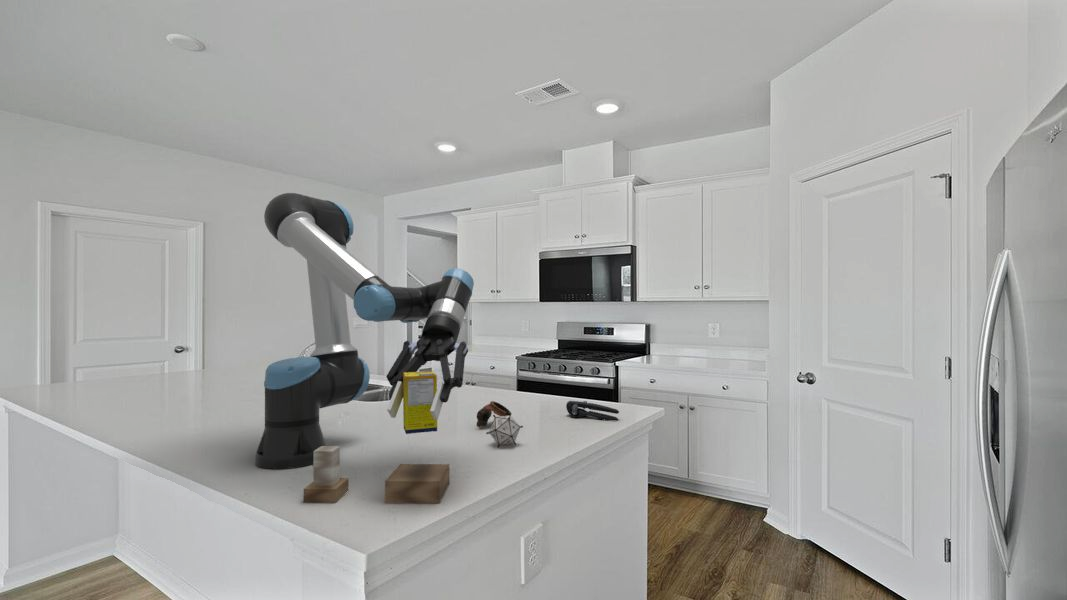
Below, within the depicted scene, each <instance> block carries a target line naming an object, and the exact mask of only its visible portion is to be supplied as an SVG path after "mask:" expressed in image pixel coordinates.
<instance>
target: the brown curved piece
mask: <svg viewBox="0 0 1067 600" xmlns="http://www.w3.org/2000/svg"><path fill="white" fill-rule="evenodd" d="M492 413H493V414H494V415H497V417H499V416H508V415H509V414H510V413H511V414H512V412H511V411H510V410H509V409H508V408H507V407H506V406H504V405H502V404H501V403H500V402H497V401H494V400H492V401H490V402H489V404H486V405H484V406H483V407H482V408H481V409H478V412H477V413H476V419H477V421H476V426H477V428H480V427H481V426H483V427H486V426H487V424H488V421H489V419H490V418H491V417H492V415H493V414H492Z"/></svg>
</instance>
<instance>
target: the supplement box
mask: <svg viewBox="0 0 1067 600" xmlns="http://www.w3.org/2000/svg"><path fill="white" fill-rule="evenodd" d="M437 377H438V376H437V373H435V371H433V370H425V371H417V372H403V399H402V402H403V403H402V404H403V405H402V407H403V414H402V415H403V416H402V417H403V430H404V432H405V435H409V434H417V433H418V434H419V433H432V432H438V419H434V418H433V416H432V414H431V412H430V409H431V406H432V403H433V400H434V397H435V394H436V391H437V388H438V378H437Z"/></svg>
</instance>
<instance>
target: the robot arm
mask: <svg viewBox="0 0 1067 600" xmlns="http://www.w3.org/2000/svg"><path fill="white" fill-rule="evenodd" d="M263 217H264V223H265V226H266V228H267V230H268V232H269V234H271V236H272V237H273V238H274V239H275V240H276V241H278V242H279V243H280V244H281V245H283V246H284V247H287V248H293V249H294V250H295V251H296V252H297V253H299V255H300V256H302V257H303V258H304V259H305V260H306V265H307V266H306V267H307V275H308V284H309V293H310V294H309V296H310V304H311V314H312V324H313V335H314V345H315V348H314V350H313V351H312V352H311V353H310V354H309V356H298V357H297V356H296V357H291V358H290V357H289V358H286V359H285V358H284V359H281V360H277V361H275V362H273V363H270V364H269V365H268V366H267V368H265V376H264V382H263V386H264V430H263V432H262V436H261V438H260V442H259V444H258V446H257V449H256V452H255V465H256V466H257V467H260V468H264V469H271V470H272V469H273V470H274V469H275V470H282V469H292V468H299V467H305V466H309V465H314V451H315V450H316V449H318V448H319V447H321V446H328V445H327V442H326V440H325V435H324V433H323V431H322V428H321V425H320V409H323V408H327V407H331V406H332V407H333V406H337V405H341V404H348V403H350V402H352V401H355V400H358V399H359V398H361V397H362V395H364V393H365V392H366V391H367V389H368V387H369V384H370V383H369V382H370V368H369V366H368V364H367V363H365V360H364V359H363V358H361V357H359V352H358V350H359V349H358V348H356V347H355V346H354V345H352V343H351V342H352V341H351V334H350V325H349V317H348V305H347V296H348V297H350V298H351V300H353V308H354V310H355V312H356V315H357V316H358V317H359V318H360V319H362V320H364V321H368V322H369V321H370V322H378V323H379V322H380V323H381V322H388V321H389V322H391V321H400V322H401V323H403V324H405V323H406V324H409V323H417V322H419V321H421V320H424V319H425V320H426V321H425V324H424V325H423V329H422V332H421V337H420V338H419V339H418V340H417V341H416V342H411V343H410V341H409V340H405V341H404V342H403V345H402V350H401V352H400V353H399V355H398V356H397V358H396V360H395V361H394V363H393V364H392V365H391V367H390V370H389V371H388V373H387V374H386V375H385V376H386V379H387V381H388V383H389V385H390V386H391V389H390V391H389V394H388V397H389V398H390V400H389V403H388V406H387V408H386V410H387V412H388V414H389V416H390V417H391V418H393V419H395V418H396V417H397V414H398V412H399V409H400V406H401V404H402V402H403V372H418V371H419V369H420V368H422V366H425V365H426V364H427V362H430V361H431V362H432V361H435V362H439V363H440V368H441V373H442V380H443V382H441V381H439V382H438V384H437V391H436V394H435V397H434V400H433V403H432V406H431V409H430V412H431V414H432V416H433V418H434V419H437V420H439V417H440V414H441V410H442V406H443V403H448V401H449V397H450V395H451V392H452V389H454V388H458V389H459V388H462V387H463V381H464V371H465V361H466V356H467V355H468V352H469V349H468V345H467V343H466V341H463V340H462V341H461V342H460V343H457V342H458V339H459V338H458V337H459V334H460V331H461V328H462V325H463V321H464V318H465V315H466V312H467V309H468V305H469V304H470V303H469V302H470V300H471V297H472V296H473V289H474V284H475V283H474V279H473V277H472V275H471V274H470V273H469V272H468V271H466V270H464V269H462V268H458V267H457V268H454V267H453V268H450V269H448V270H447V271H445V272H444V275H442V278H441V280H439V281H437V282H436V281H435V282H433V283H431V284H427V285H424V286H421V287H405V286H403V287H402V286H393V285H392V286H391V285H390V284H388V283H387V282H386V281H385V280H384V279H382V278H381V277H379V275H377V273H375V272H374V271H372V270H371V269H370V268H369V267H368V266H366V265H365V264H364V263H363V262H362V261H360V260H359V259H358V258H357V257H356V256H354V254H352V253H351V252H350V251H349V250H348V249H347V244H348V243H350V241H351V240H352V237H351V236H353V234H354V220H353V218H352V216H351V213H350V212H349V211H348V209H346V208H345V207H344V206H342V205H341V204H339V203H335V202H334V201H331V200H328V199H320V198H316V197H312V196H308V195H303V194H300V193H296V192H287V193H281V194H279V195H277V196H274V197H273V198H272V199H271V200H270V201H269V202H268V204H267V205H266V207H265V209H264V214H263ZM346 295H347V296H346ZM454 351H455V359H454V360H455V361H454V370H453V376H452V374H451V370H450V366H449V365H450V362H449V359H448V356H449V355H451V354H452V353H453V352H454ZM412 355H413V356H412Z"/></svg>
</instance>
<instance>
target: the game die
mask: <svg viewBox="0 0 1067 600" xmlns="http://www.w3.org/2000/svg"><path fill="white" fill-rule="evenodd" d="M492 417H493V420H492V424H491V427H490V429H489V431H487V432H486V433H485V434H486V435H490V436H491V437H492V439H493V440H494V441H495V442H496V443H497V448H498V449H499V448H500V446H501V445H508V444H513V445H514V446H517V443H516V440H517V437H518V434H519V432H520V430H521V429H522V428H523V427H524V425H519V423H518V422H517V421H516V420H515V419H514V418H513V416H512V412H511V413H510V414H509V415H508V416H496V414H492Z"/></svg>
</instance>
